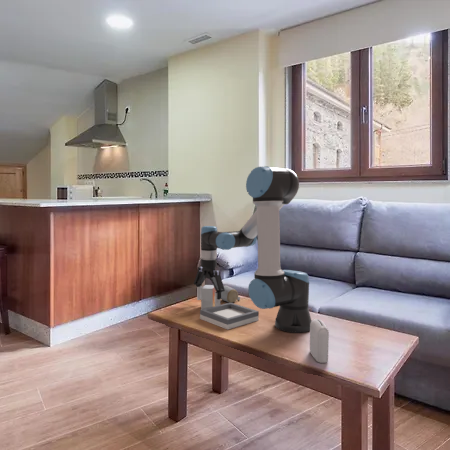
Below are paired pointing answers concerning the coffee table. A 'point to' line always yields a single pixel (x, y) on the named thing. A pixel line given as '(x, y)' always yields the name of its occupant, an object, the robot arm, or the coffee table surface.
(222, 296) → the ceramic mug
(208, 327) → the coffee table surface
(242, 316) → the square gray-rimmed holder
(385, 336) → the coffee table surface
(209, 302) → the small box
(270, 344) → the coffee table surface
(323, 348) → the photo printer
